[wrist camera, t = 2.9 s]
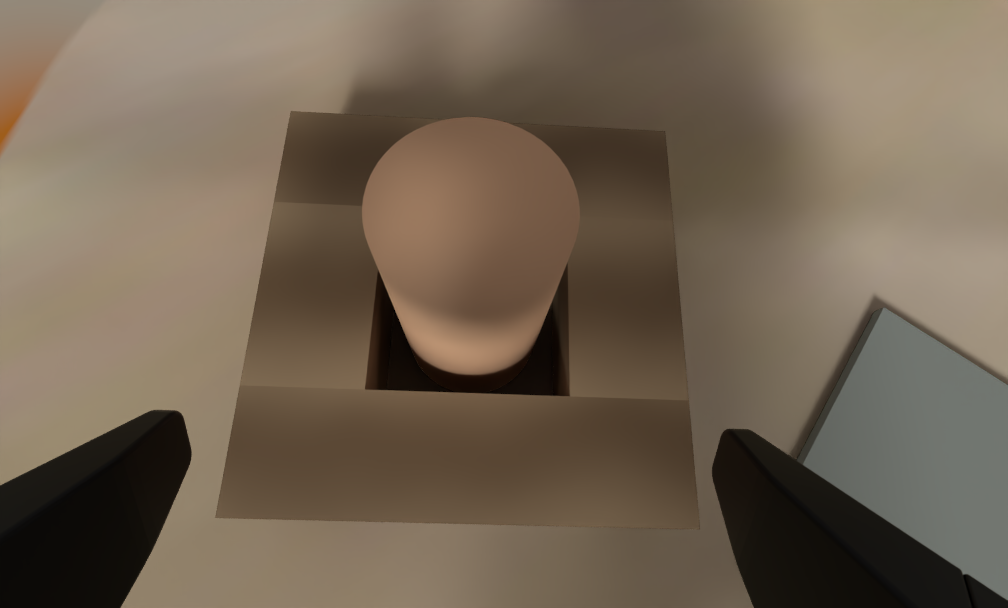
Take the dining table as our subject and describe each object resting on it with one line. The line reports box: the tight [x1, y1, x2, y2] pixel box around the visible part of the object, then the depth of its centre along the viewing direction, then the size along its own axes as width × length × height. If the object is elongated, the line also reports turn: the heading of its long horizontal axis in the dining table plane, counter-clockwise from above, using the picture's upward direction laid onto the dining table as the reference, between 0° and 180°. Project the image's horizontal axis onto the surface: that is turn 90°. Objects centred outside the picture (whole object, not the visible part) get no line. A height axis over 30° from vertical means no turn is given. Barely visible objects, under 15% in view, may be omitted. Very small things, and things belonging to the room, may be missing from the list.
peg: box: [362, 117, 580, 393], centre depth 17 cm, size 5×5×10 cm
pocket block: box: [215, 111, 700, 529], centre depth 20 cm, size 14×14×4 cm
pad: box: [797, 308, 1008, 600], centre depth 20 cm, size 12×12×1 cm
